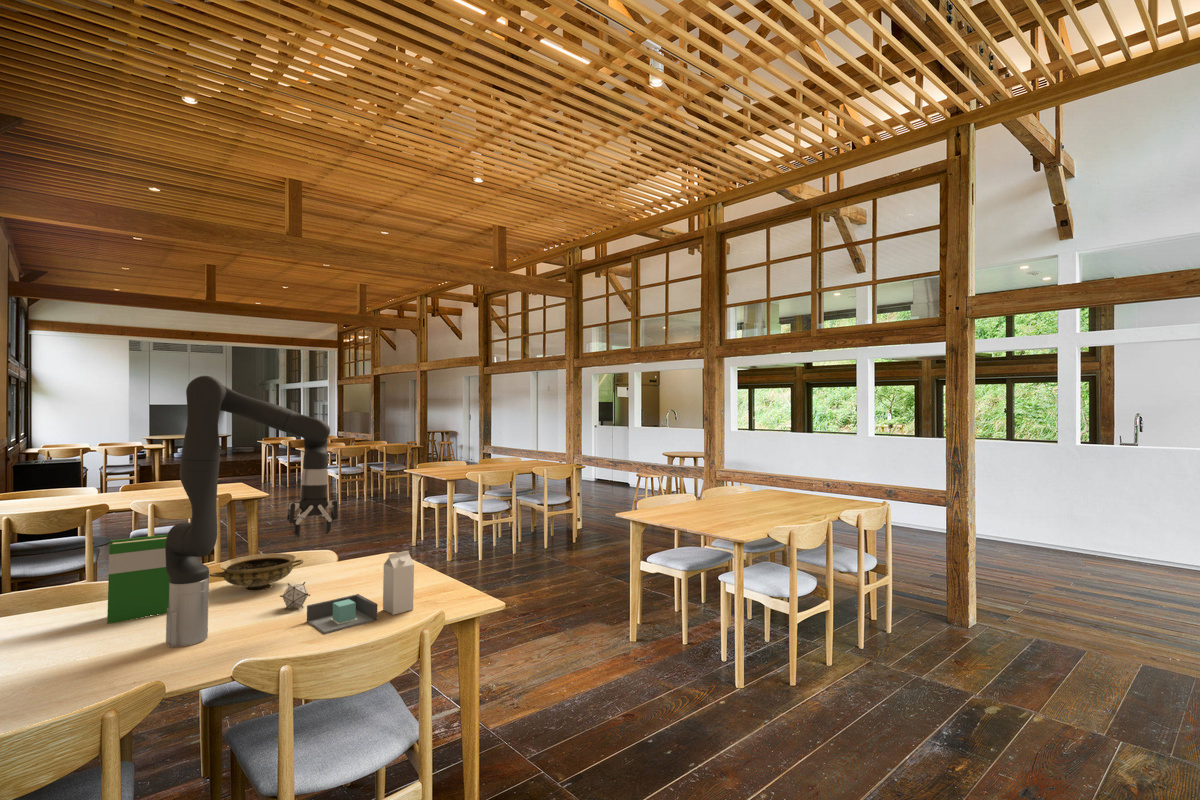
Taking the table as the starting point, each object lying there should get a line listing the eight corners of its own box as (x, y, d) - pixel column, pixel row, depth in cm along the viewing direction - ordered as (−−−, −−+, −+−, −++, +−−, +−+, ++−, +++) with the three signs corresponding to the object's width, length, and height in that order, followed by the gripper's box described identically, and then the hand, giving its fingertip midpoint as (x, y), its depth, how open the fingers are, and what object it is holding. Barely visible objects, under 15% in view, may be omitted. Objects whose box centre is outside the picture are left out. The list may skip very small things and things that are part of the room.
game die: (296, 620, 189) (293, 602, 183) (275, 609, 190) (272, 590, 185) (317, 600, 196) (314, 581, 190) (297, 589, 198) (294, 571, 192)
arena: (324, 634, 168) (324, 616, 168) (306, 621, 178) (307, 605, 178) (377, 620, 180) (377, 604, 180) (357, 609, 189) (358, 593, 189)
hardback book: (107, 623, 174) (109, 544, 175) (107, 616, 180) (109, 540, 180) (178, 611, 186) (180, 537, 186) (177, 605, 191) (179, 533, 192)
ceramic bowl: (296, 573, 230) (297, 548, 230) (310, 588, 211) (311, 560, 211) (205, 587, 211) (206, 560, 211) (212, 604, 192) (213, 574, 192)
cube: (339, 623, 175) (339, 606, 175) (332, 619, 178) (332, 602, 178) (355, 618, 179) (355, 602, 179) (348, 614, 182) (348, 599, 182)
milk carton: (382, 610, 189) (383, 552, 189) (402, 604, 194) (403, 548, 194) (393, 615, 184) (394, 556, 184) (413, 610, 189) (414, 552, 190)
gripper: (293, 485, 173) (290, 539, 172) (342, 483, 183) (339, 534, 182) (286, 483, 178) (283, 535, 177) (333, 481, 188) (331, 531, 187)
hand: (312, 535), depth 180 cm, fingers open, 8 cm apart
